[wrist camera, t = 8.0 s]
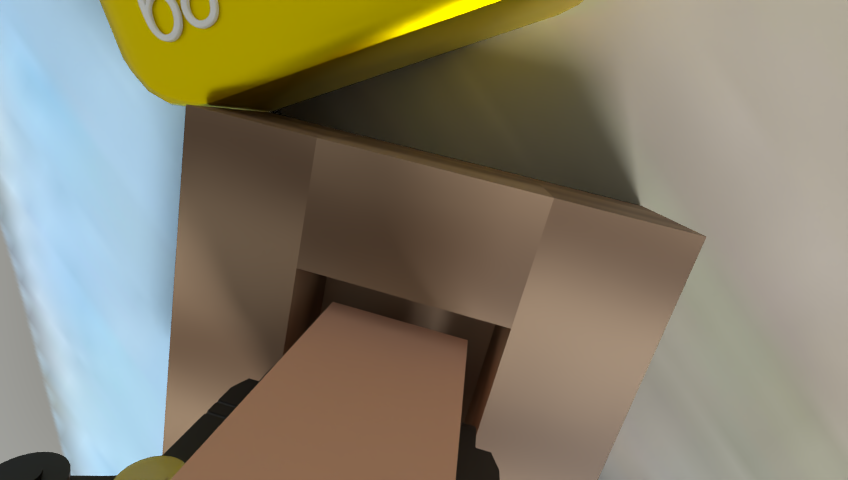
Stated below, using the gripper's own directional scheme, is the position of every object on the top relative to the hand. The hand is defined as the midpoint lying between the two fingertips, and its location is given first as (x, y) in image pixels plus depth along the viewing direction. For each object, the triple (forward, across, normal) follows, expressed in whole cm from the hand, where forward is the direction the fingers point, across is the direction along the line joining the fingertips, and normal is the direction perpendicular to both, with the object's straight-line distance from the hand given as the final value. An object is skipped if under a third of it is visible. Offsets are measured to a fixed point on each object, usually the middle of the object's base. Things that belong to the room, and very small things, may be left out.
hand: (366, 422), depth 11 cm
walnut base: (+6, 0, 0) cm, 6 cm away
